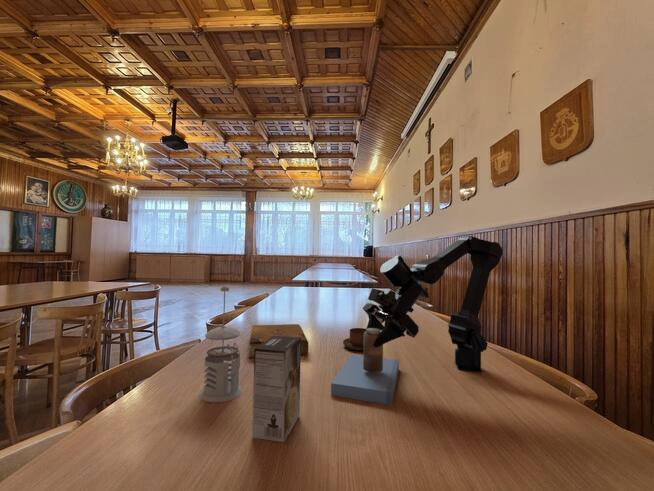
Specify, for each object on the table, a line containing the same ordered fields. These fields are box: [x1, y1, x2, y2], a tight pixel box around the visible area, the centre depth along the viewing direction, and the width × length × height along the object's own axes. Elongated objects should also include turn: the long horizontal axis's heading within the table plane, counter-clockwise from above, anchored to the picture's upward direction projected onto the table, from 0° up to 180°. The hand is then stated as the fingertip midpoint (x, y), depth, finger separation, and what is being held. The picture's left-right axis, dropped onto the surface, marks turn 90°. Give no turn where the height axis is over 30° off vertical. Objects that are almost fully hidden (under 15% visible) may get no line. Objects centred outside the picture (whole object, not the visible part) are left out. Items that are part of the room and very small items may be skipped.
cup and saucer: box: [342, 327, 366, 351], centre depth 108 cm, size 12×12×6 cm
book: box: [330, 353, 400, 406], centre depth 79 cm, size 14×22×3 cm, turn 163°
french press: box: [198, 285, 244, 403], centre depth 71 cm, size 10×12×25 cm
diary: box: [248, 323, 310, 360], centre depth 107 cm, size 23×19×6 cm
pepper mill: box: [362, 327, 384, 372], centre depth 78 cm, size 5×5×10 cm
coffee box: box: [251, 336, 301, 443], centre depth 57 cm, size 9×6×16 cm
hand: (368, 343), depth 77 cm, fingers closed on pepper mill, 5 cm apart
